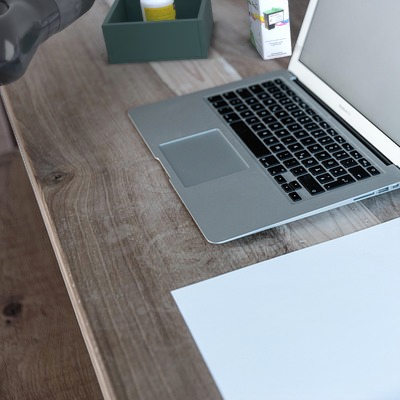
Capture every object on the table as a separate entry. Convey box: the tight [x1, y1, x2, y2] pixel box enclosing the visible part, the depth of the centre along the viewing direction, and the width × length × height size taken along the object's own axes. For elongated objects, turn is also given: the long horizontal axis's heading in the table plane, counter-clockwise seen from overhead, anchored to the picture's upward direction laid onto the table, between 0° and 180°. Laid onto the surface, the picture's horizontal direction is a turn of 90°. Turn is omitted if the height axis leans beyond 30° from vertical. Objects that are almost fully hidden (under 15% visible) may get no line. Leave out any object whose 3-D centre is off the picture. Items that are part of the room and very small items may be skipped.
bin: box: [101, 0, 215, 65], centre depth 118 cm, size 16×16×7 cm
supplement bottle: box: [140, 0, 177, 21], centre depth 117 cm, size 5×5×10 cm
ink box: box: [246, 0, 293, 60], centre depth 113 cm, size 8×5×12 cm, turn 19°
